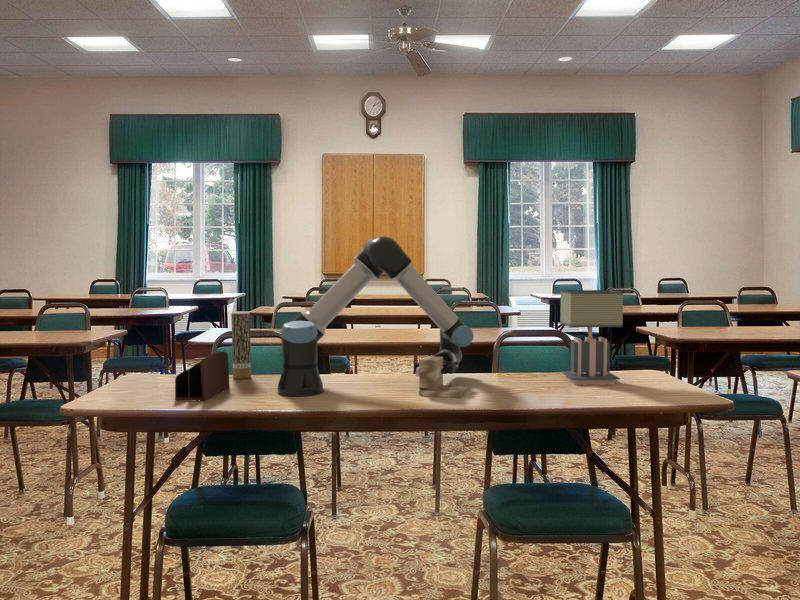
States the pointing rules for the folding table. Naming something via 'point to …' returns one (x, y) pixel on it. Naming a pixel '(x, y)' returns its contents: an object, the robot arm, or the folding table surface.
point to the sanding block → (430, 373)
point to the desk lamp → (591, 312)
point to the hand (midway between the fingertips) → (427, 372)
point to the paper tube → (241, 344)
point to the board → (446, 392)
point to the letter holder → (204, 378)
